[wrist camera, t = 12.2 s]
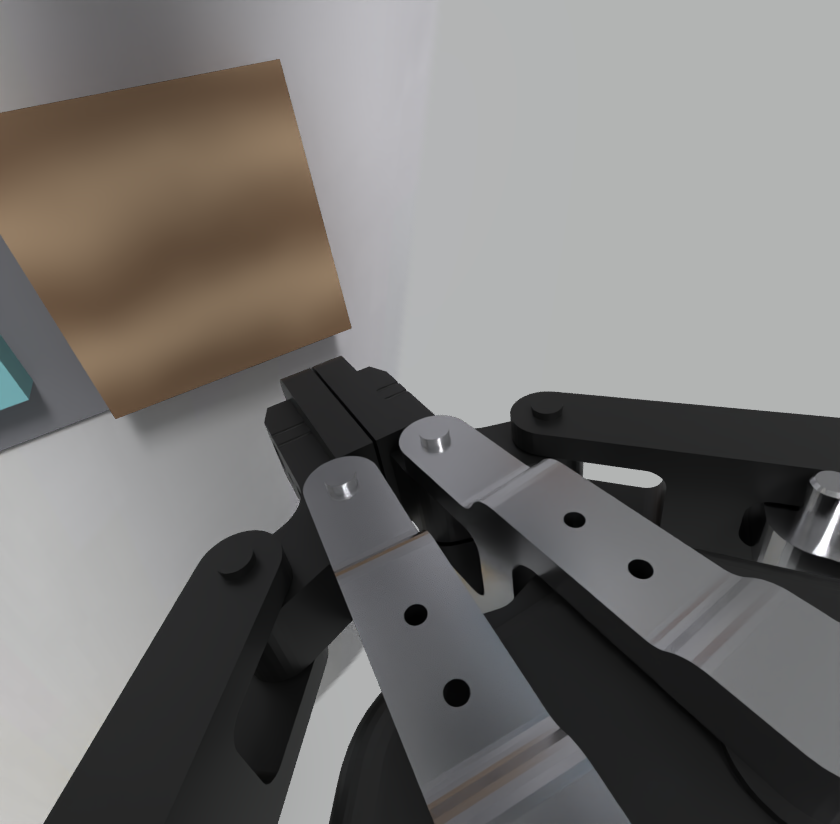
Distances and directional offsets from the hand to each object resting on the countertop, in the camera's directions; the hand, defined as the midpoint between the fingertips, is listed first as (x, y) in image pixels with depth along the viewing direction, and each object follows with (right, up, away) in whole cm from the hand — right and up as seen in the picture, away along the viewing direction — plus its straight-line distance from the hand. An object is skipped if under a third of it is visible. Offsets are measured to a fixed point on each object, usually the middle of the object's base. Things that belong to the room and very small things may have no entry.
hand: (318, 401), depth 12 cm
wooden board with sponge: (-11, +10, +17) cm, 22 cm away
